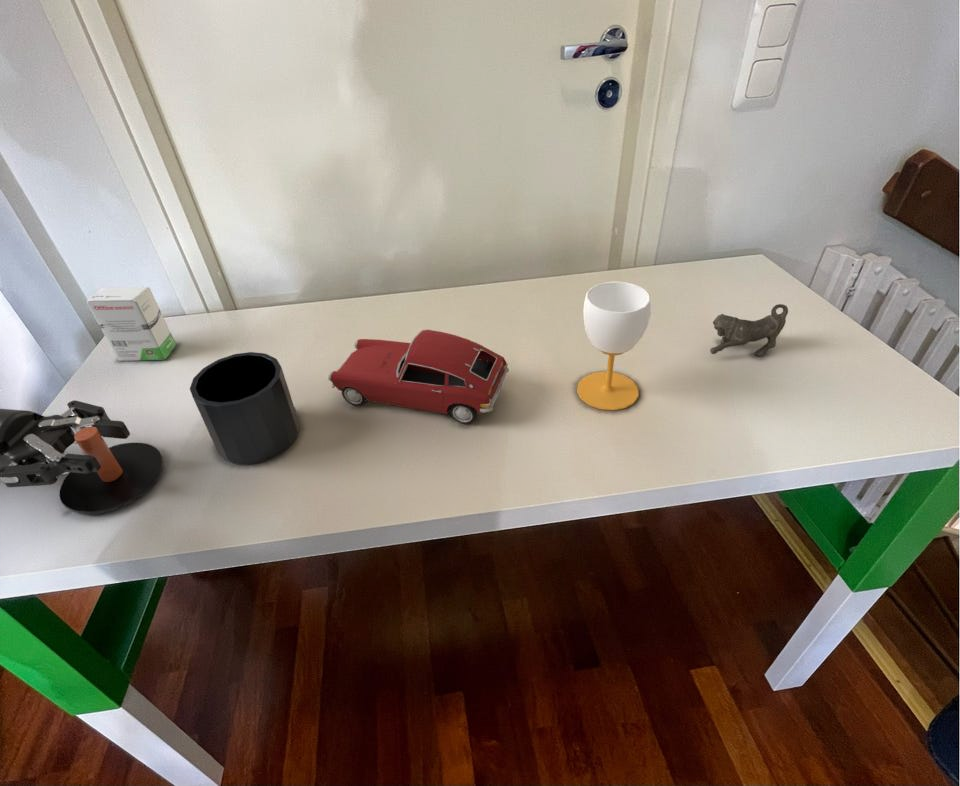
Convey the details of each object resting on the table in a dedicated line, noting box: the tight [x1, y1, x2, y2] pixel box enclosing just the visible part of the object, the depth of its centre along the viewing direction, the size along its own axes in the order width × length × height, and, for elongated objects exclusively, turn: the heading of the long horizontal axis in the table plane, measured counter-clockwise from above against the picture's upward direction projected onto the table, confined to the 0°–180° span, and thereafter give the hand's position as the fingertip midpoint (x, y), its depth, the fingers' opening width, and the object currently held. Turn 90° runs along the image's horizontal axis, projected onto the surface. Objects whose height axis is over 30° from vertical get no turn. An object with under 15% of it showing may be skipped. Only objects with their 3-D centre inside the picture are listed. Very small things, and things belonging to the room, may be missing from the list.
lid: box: [59, 426, 164, 515], centre depth 76 cm, size 12×12×9 cm
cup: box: [576, 280, 652, 412], centre depth 83 cm, size 9×9×16 cm
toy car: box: [327, 329, 510, 425], centre depth 87 cm, size 11×25×10 cm, turn 73°
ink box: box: [86, 286, 177, 362], centre depth 99 cm, size 9×5×12 cm, turn 86°
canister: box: [189, 351, 300, 466], centre depth 81 cm, size 11×11×10 cm
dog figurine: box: [709, 303, 789, 357], centre depth 93 cm, size 12×6×7 cm, turn 95°
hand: (111, 446), depth 74 cm, fingers open, 5 cm apart
